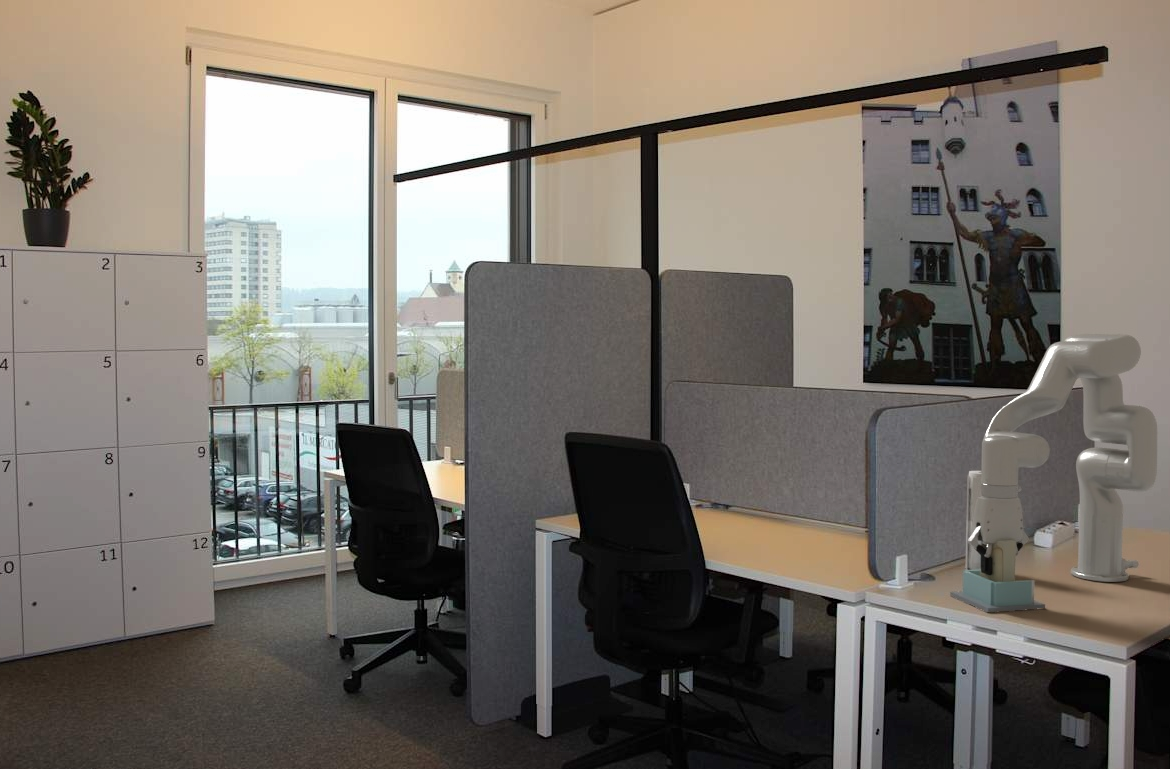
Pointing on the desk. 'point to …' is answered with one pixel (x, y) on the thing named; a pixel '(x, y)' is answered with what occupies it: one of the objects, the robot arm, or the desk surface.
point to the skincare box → (1002, 561)
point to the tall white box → (972, 494)
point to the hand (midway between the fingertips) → (997, 572)
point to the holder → (996, 593)
